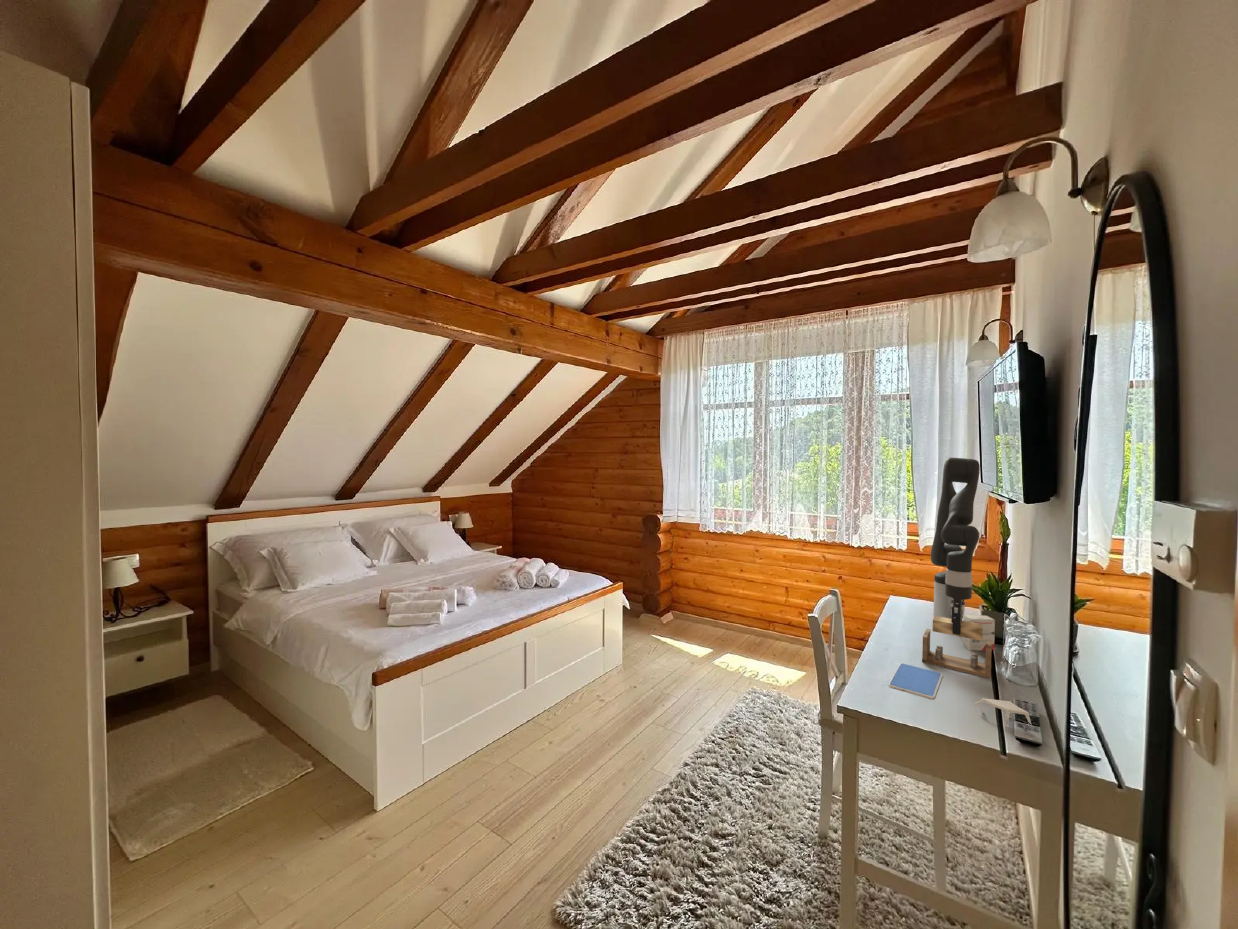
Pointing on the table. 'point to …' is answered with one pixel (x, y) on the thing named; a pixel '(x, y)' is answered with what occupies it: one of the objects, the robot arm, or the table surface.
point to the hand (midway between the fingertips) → (957, 631)
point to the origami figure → (1004, 708)
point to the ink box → (987, 632)
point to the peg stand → (956, 659)
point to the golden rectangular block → (967, 628)
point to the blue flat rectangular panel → (916, 680)
